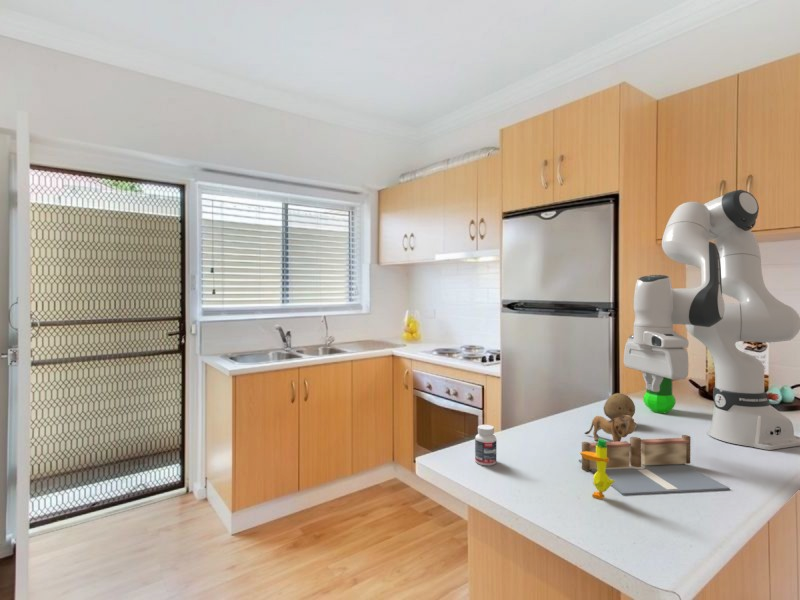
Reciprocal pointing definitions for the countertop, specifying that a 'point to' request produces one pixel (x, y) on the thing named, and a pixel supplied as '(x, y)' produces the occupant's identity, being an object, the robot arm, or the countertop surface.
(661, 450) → the fence panel
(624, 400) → the natural sponge
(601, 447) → the toy figure
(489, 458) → the pill bottle
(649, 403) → the plastic bottle
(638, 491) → the board
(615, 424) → the lion figurine
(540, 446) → the countertop surface
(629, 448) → the fence section
